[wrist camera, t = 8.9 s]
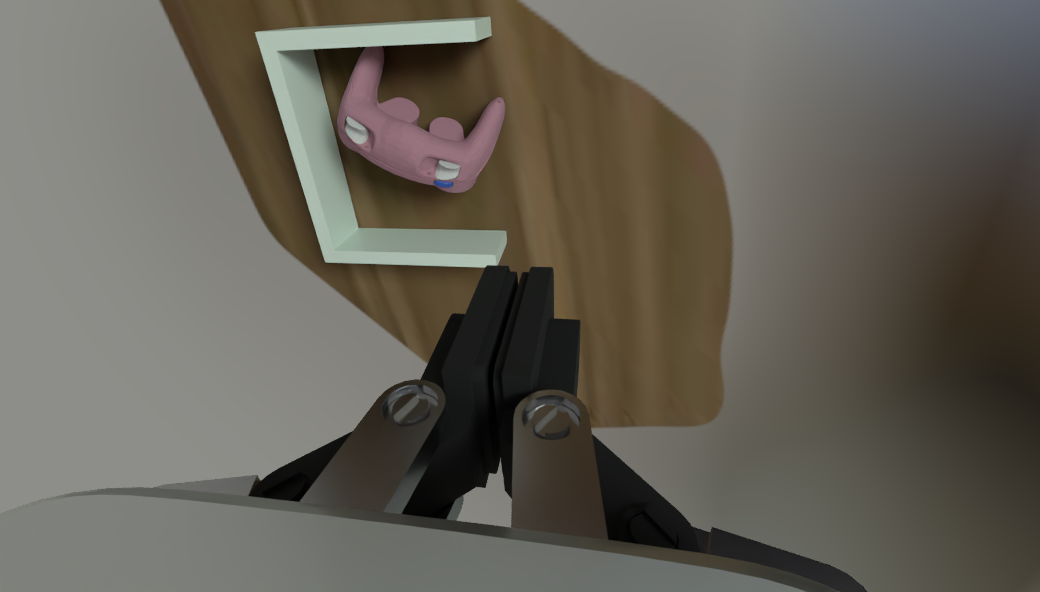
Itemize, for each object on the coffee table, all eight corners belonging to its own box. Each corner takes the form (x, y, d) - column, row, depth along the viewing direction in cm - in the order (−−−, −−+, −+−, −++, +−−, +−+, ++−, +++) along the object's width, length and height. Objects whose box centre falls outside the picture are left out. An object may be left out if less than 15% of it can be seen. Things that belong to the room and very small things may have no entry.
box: (293, 27, 31) (255, 32, 27) (490, 16, 29) (474, 20, 25) (349, 239, 39) (325, 262, 35) (506, 242, 37) (496, 267, 33)
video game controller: (370, 89, 34) (320, 155, 30) (369, 30, 30) (311, 98, 26) (500, 146, 34) (465, 217, 31) (515, 96, 30) (477, 171, 27)
